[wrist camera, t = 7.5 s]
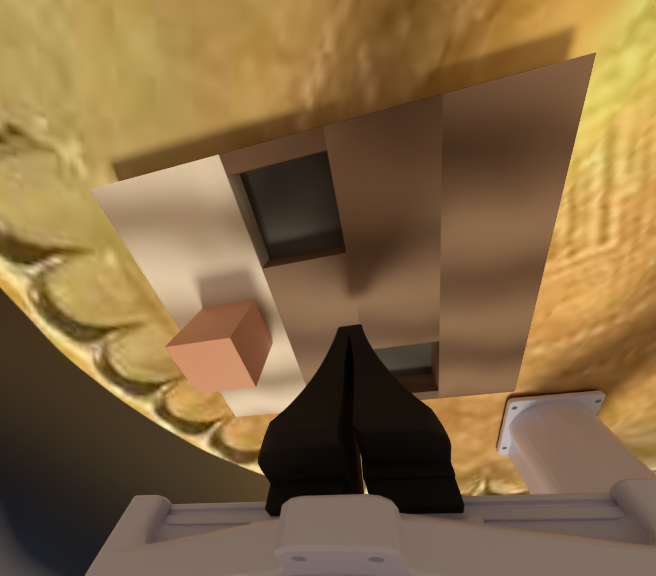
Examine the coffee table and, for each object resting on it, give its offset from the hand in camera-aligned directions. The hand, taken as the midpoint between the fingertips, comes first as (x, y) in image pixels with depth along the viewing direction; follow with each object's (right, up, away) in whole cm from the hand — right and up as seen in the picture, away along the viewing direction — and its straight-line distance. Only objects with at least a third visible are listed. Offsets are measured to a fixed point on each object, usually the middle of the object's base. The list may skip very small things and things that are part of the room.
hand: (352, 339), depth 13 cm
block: (-8, 0, +4) cm, 9 cm away
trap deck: (0, +2, +4) cm, 5 cm away
